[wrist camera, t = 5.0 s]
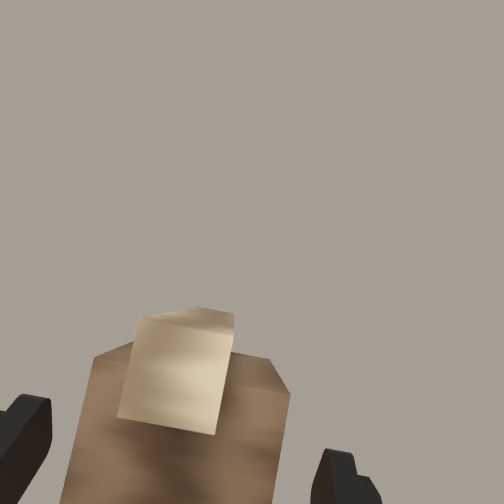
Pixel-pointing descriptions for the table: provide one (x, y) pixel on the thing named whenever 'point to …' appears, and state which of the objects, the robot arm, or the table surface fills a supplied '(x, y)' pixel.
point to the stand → (179, 443)
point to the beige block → (178, 369)
